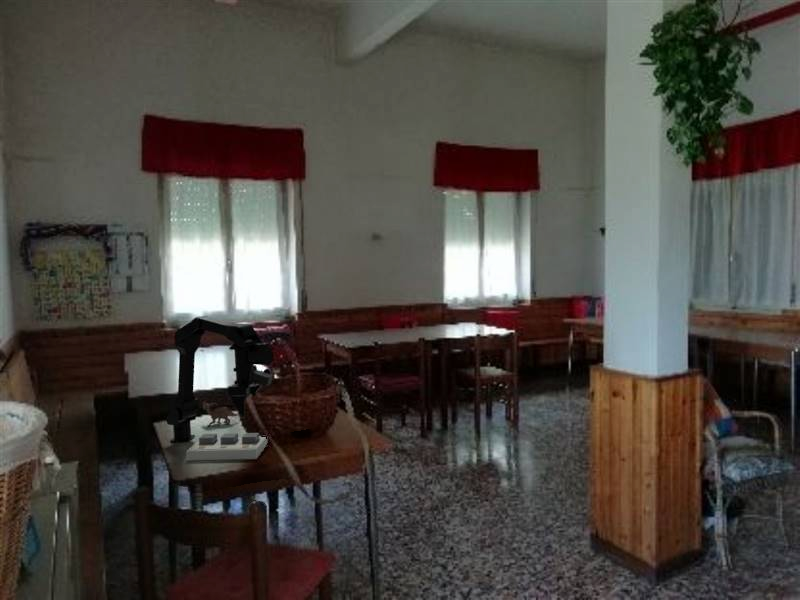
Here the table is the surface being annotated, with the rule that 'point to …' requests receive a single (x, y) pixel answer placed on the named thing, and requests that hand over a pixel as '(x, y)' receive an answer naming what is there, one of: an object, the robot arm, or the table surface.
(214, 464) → the table surface
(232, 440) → the middle button
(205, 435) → the button
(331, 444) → the table surface
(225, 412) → the dinosaur figurine
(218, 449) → the button panel
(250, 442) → the button
